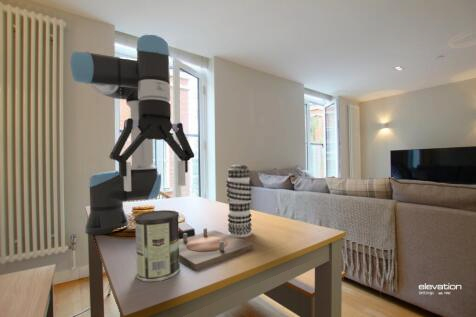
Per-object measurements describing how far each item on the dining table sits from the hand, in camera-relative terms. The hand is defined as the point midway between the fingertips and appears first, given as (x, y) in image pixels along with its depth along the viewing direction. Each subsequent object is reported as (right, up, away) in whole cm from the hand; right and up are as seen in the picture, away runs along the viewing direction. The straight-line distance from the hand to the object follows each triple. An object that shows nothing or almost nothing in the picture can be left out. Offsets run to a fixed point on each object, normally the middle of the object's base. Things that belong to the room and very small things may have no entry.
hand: (156, 188), depth 59 cm
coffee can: (0, -21, 0) cm, 21 cm away
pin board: (+11, -20, +15) cm, 27 cm away
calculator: (-4, -21, +25) cm, 33 cm away
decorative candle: (+21, -20, +29) cm, 41 cm away
